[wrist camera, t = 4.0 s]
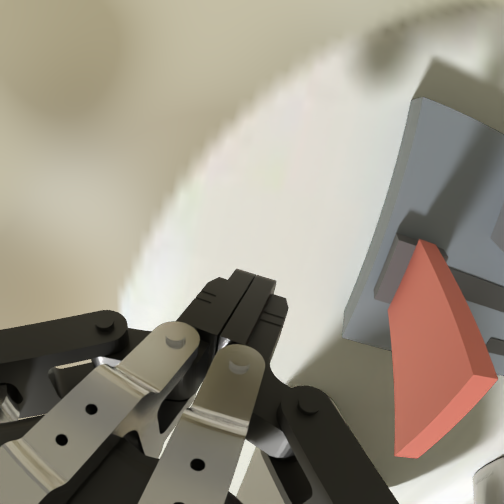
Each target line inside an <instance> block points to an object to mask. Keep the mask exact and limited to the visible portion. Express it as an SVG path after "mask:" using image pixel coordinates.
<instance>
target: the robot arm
mask: <svg viewBox="0 0 504 504" xmlns="http://www.w3.org/2000/svg"><path fill="white" fill-rule="evenodd" d="M275 286H276V281H275V280H272V279H269V278H265V277H262V276H259V275H257V276H256V275H255V274H252V273H249V272H246V271H243V270H239V269H236V270H235V271H234V273H233V274H232V275H231V277H230V278H229V279H228V280H226V279H223V278H220V277H219V278H216V279H214V280H212V281H210V282H208V283H207V284H206V286H205V287H204V288H203V289H202V291H201V292H200V293H199V294H198V295H197V296H196V299H194V300H193V301H192V302H191V304H190V305H189V306H188V307H187V308H186V310H185V311H184V312H183V313H182V314H181V316H180V317H179V318H178V319H177V320H176V321H172V322H166V323H163V324H161V325H159V326H158V327H156V328H155V329H154V330H153V331H143V330H137V329H131V328H128V326H127V321H126V319H125V318H124V316H122V315H121V314H120V313H118V312H115V311H111V310H103V311H97V312H92V313H87V314H82V315H77V316H72V317H67V318H62V319H57V320H52V321H46V322H41V323H36V324H31V325H25V326H20V327H14V328H9V329H3V330H0V504H243V503H242V502H241V501H240V500H239V499H238V498H237V497H235V496H234V495H233V494H232V493H230V492H229V491H228V490H229V487H230V484H231V481H232V478H233V475H234V472H235V469H236V466H237V463H238V460H239V457H240V453H241V450H242V447H243V444H244V440H245V439H246V440H248V441H249V442H251V443H252V444H254V445H255V446H256V447H258V448H259V449H260V452H261V455H262V458H263V460H264V462H265V464H266V466H267V468H268V470H269V472H270V475H271V477H272V479H273V481H274V483H275V485H276V487H277V489H278V491H279V493H280V495H281V497H282V499H283V501H284V503H285V504H399V503H398V501H397V500H396V498H395V497H394V495H393V494H392V492H391V491H390V489H389V488H388V486H387V485H386V483H385V482H384V480H383V479H382V477H381V476H380V474H379V473H378V471H377V470H376V468H375V467H374V465H373V464H372V462H371V461H370V459H369V458H368V456H367V455H366V453H365V452H364V450H363V449H362V447H361V446H360V444H359V443H358V441H357V440H356V438H355V436H354V435H353V433H352V432H351V430H350V429H349V427H348V426H347V424H346V423H345V421H344V420H343V418H342V417H341V415H340V413H339V412H338V410H337V409H336V407H335V406H334V404H333V403H332V401H331V400H330V398H329V397H328V396H327V395H326V394H325V393H324V392H322V391H321V390H319V389H317V388H314V387H310V386H297V387H294V388H290V387H289V386H287V385H285V384H284V383H282V382H281V381H280V380H278V379H277V378H276V377H275V375H274V374H273V372H272V371H271V368H270V362H271V359H272V356H273V354H274V351H275V348H276V346H277V343H278V340H279V337H280V334H281V331H282V328H283V324H284V321H285V318H286V315H287V311H288V305H287V301H286V298H283V297H280V296H277V295H274V290H275ZM88 359H91V360H92V362H91V363H87V364H83V365H78V366H73V367H68V368H64V369H58V368H55V366H60V365H65V364H69V363H74V362H79V361H83V360H88ZM202 382H203V383H202ZM201 383H202V385H201ZM200 385H201V387H200ZM199 387H200V389H199V391H198V393H197V396H196V392H197V390H198V388H199ZM195 397H196V398H195ZM194 399H195V400H194ZM193 401H194V402H193ZM192 402H193V404H192ZM191 404H192V406H191V407H190V405H191ZM189 407H190V408H189ZM42 414H46V415H42ZM37 415H41V416H37ZM30 416H37V417H31V418H26V419H22V420H18V418H24V417H30ZM175 426H176V427H175ZM174 427H175V429H174ZM173 429H174V431H173V433H172V435H171V437H170V439H169V441H168V443H167V446H166V448H165V450H164V452H163V454H162V456H161V458H160V459H158V457H159V455H160V453H161V451H162V448H163V444H164V442H165V440H166V438H167V437H168V436H169V434H170V433H171V431H172V430H173ZM473 491H474V504H504V457H502V458H500V459H498V460H496V461H494V462H492V463H490V464H488V465H486V466H485V467H483V468H482V469H480V470H479V471H478V472H477V473H476V474H475V475H474V476H473Z"/></svg>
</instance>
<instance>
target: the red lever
mask: <svg viewBox="0 0 504 504" xmlns="http://www.w3.org/2000/svg"><path fill="white" fill-rule="evenodd" d="M447 260H448V255H447V254H446V252H445V250H444V249H442V248H439V247H437V246H436V245H435V244H433V243H430V242H427V241H424V240H421V239H419V240H416V239H413V238H410V237H407V236H404V235H401V234H398V233H396V235H395V237H394V240H393V243H392V245H391V248H390V251H389V253H388V256H387V258H386V261H385V263H384V266H383V268H382V271H381V273H380V275H379V278H378V280H377V283H376V285H375V287H374V299H375V300H378V301H382V302H385V303H388V304H390V306H389V308H388V317H389V326H390V336H391V347H392V360H393V376H394V400H395V447H394V456H398V457H407V458H417V459H418V458H419V457H420V456H421V455H422V454H424V453H425V452H426V451H427V450H428V449H430V448H431V447H432V446H433V445H434V444H435V443H437V442H438V441H439V440H440V439H441V438H442V437H443V436H444V435H446V434H447V433H448V432H449V431H450V430H451V429H452V428H453V427H454V426H455V425H456V424H457V423H458V422H459V421H460V420H461V419H462V418H463V417H464V416H465V415H466V414H467V413H468V412H469V411H470V410H471V409H472V408H473V407H474V406H475V405H476V404H477V403H478V402H479V401H480V399H481V398H482V397H483V396H484V395H485V394H486V393H487V392H488V390H489V389H490V388H491V387H492V386H493V385H494V383H495V382H496V381H497V380H498V377H497V374H496V372H495V369H494V366H493V363H492V361H491V358H490V355H489V353H488V350H487V348H486V345H485V343H484V340H483V338H482V335H481V333H480V331H479V328H478V326H477V324H476V321H475V319H474V317H473V315H472V313H471V310H470V308H469V306H468V304H467V302H466V300H465V298H464V296H463V294H462V292H461V290H460V288H459V286H458V284H457V282H456V280H455V278H454V276H453V274H452V273H451V271H450V269H449V267H448V265H447V263H446V262H447Z"/></svg>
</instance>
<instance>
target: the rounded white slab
mask: <svg viewBox="0 0 504 504" xmlns="http://www.w3.org/2000/svg"><path fill="white" fill-rule="evenodd" d="M329 398H330V397H329ZM330 400H331V401H332V403H333V404H334V406H335V407H336V409H337V410H338V412H339V413H340V411H339V409H338V408H337V406H336V404H335V402H334V401H333V400H332V399H331V398H330ZM340 415H341V413H340ZM341 417H342V418H343V416H342V415H341ZM343 420H344V418H343ZM344 421H345V420H344ZM345 423H346V421H345ZM346 424H347V423H346ZM347 426H348V425H347ZM349 429H350V428H349ZM236 497H237V498H238V499H239V500H240V501H241V502H242V503H243V504H285V503H284V501H283V499H282V497H281V495H280V493H279V491H278V489H277V487H276V485H275V483H274V481H273V479H272V477H271V475H270V472H269V470H268V468H267V466H266V464H265V462H264V460H263V458H262V455H261V452H260V449H259V448H258V447H256V448H255V451H254V453H253V456H252V458H251V461H250V464H249V466H248V469H247V471H246V474H245V476H244V479H243V481H242V484H241V486H240V488H239V491H238V493H237V496H236Z"/></svg>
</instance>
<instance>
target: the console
mask: <svg viewBox="0 0 504 504" xmlns="http://www.w3.org/2000/svg"><path fill="white" fill-rule="evenodd" d="M396 233H398V234H401V235H404V236H407V237H410V238H413V239H416V240H419V239H421V240H424V241H427V242H430V243H433V244H435V245H436V246H437V247H439V248H442V249H444V250H445V252H446V254H447V255H448V260H447V262H446V263H447V265H448V267H449V269H450V271H451V273H452V274H453V276H454V278H455V280H456V282H457V284H458V286H459V288H460V290H461V292H462V294H463V296H464V298H465V300H466V302H467V304H468V306H469V308H470V310H471V313H472V315H473V317H474V319H475V321H476V324H477V326H478V328H479V331H480V333H481V335H482V338H483V340H484V343H485V345H486V348H487V350H488V353H489V355H490V358H491V361H492V363H493V366H494V369H495V372H496V374H497V375H502V376H504V134H502V133H500V132H499V131H497V130H495V129H493V128H491V127H489V126H487V125H485V124H483V123H481V122H479V121H477V120H475V119H473V118H471V117H469V116H467V115H465V114H463V113H461V112H459V111H456V110H454V109H452V108H450V107H447V106H445V105H442V104H440V103H438V102H435V101H433V100H430V99H428V98H425V97H420V98H417V99H413V100H411V104H410V108H409V113H408V117H407V122H406V126H405V130H404V134H403V138H402V142H401V146H400V150H399V154H398V158H397V161H396V165H395V169H394V172H393V176H392V179H391V183H390V186H389V189H388V193H387V196H386V199H385V202H384V205H383V209H382V212H381V215H380V218H379V221H378V224H377V227H376V230H375V233H374V236H373V238H372V241H371V244H370V247H369V250H368V252H367V255H366V258H365V260H364V263H363V266H362V268H361V271H360V274H359V276H358V279H357V281H356V284H355V286H354V289H353V291H352V294H351V296H350V299H349V301H348V304H347V306H346V308H345V311H344V320H343V331H342V338H345V339H348V340H352V341H356V342H359V343H363V344H367V345H370V346H374V347H378V348H382V349H386V350H389V351H392V347H391V336H390V326H389V317H388V308H389V306H390V304H388V303H385V302H382V301H378V300H375V299H374V287H375V285H376V283H377V280H378V278H379V275H380V273H381V271H382V268H383V266H384V263H385V261H386V258H387V256H388V253H389V251H390V248H391V245H392V243H393V240H394V237H395V235H396Z"/></svg>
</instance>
